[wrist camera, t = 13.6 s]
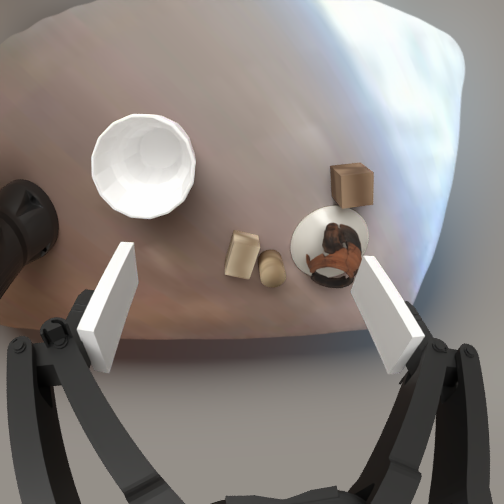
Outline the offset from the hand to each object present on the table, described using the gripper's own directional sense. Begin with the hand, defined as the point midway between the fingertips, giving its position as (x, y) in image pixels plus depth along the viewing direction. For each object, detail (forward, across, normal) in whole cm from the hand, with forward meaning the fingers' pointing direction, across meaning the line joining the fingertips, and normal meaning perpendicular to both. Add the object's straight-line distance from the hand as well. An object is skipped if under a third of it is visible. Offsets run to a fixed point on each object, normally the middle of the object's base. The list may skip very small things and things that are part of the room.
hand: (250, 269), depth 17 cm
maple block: (+29, +2, -16) cm, 33 cm away
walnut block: (+29, +17, -2) cm, 34 cm away
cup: (+29, -11, 0) cm, 31 cm away
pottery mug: (+28, +17, -14) cm, 36 cm away
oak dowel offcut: (+29, +7, -18) cm, 35 cm away
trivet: (+29, +17, -14) cm, 36 cm away
